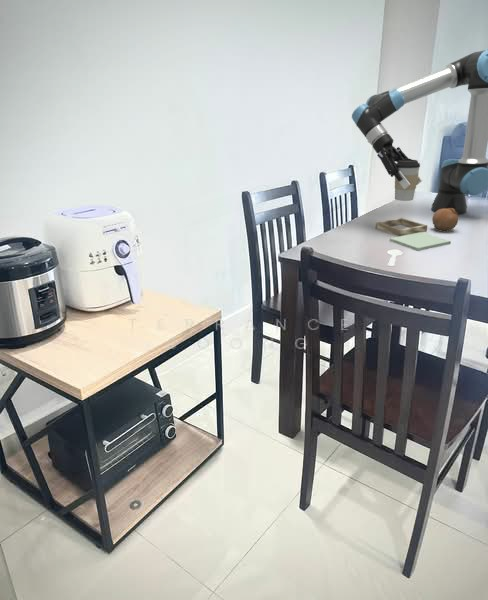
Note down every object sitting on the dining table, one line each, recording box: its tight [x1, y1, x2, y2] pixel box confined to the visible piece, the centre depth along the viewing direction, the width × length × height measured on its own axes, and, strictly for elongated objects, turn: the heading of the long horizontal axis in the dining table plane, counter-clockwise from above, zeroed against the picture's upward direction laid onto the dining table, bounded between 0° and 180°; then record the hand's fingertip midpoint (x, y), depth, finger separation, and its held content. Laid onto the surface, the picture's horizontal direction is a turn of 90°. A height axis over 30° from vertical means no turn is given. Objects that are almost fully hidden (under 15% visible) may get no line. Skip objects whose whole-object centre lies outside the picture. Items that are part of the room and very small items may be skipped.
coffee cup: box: [394, 157, 421, 202], centre depth 170 cm, size 9×9×15 cm
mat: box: [389, 232, 452, 252], centre depth 163 cm, size 16×14×1 cm
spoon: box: [386, 248, 404, 267], centre depth 149 cm, size 5×18×1 cm, turn 157°
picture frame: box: [375, 217, 428, 237], centre depth 178 cm, size 14×14×2 cm
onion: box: [431, 208, 459, 232], centre depth 175 cm, size 10×9×10 cm
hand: (413, 184), depth 169 cm, fingers closed on coffee cup, 9 cm apart
